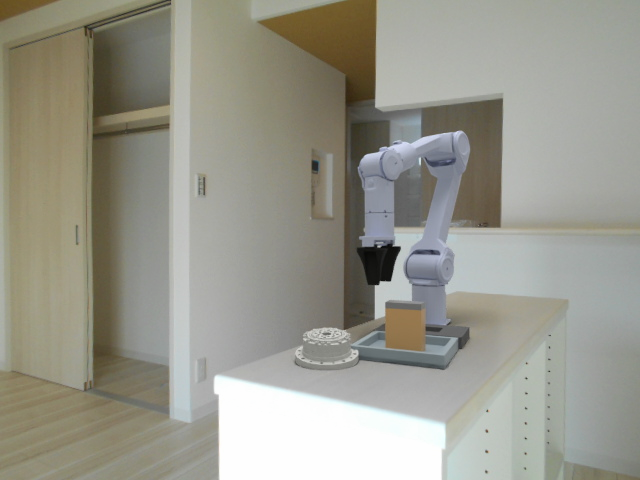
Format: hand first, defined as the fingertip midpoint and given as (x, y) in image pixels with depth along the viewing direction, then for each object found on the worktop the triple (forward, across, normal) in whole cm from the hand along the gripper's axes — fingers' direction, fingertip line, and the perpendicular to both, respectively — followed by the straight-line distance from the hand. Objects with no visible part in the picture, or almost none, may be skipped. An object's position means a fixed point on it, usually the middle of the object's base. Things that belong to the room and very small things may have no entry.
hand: (379, 283), depth 89 cm
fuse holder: (+10, -1, +8) cm, 13 cm away
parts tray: (+10, +11, +8) cm, 17 cm away
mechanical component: (+11, +20, -2) cm, 23 cm away
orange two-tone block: (+10, +11, +8) cm, 17 cm away
